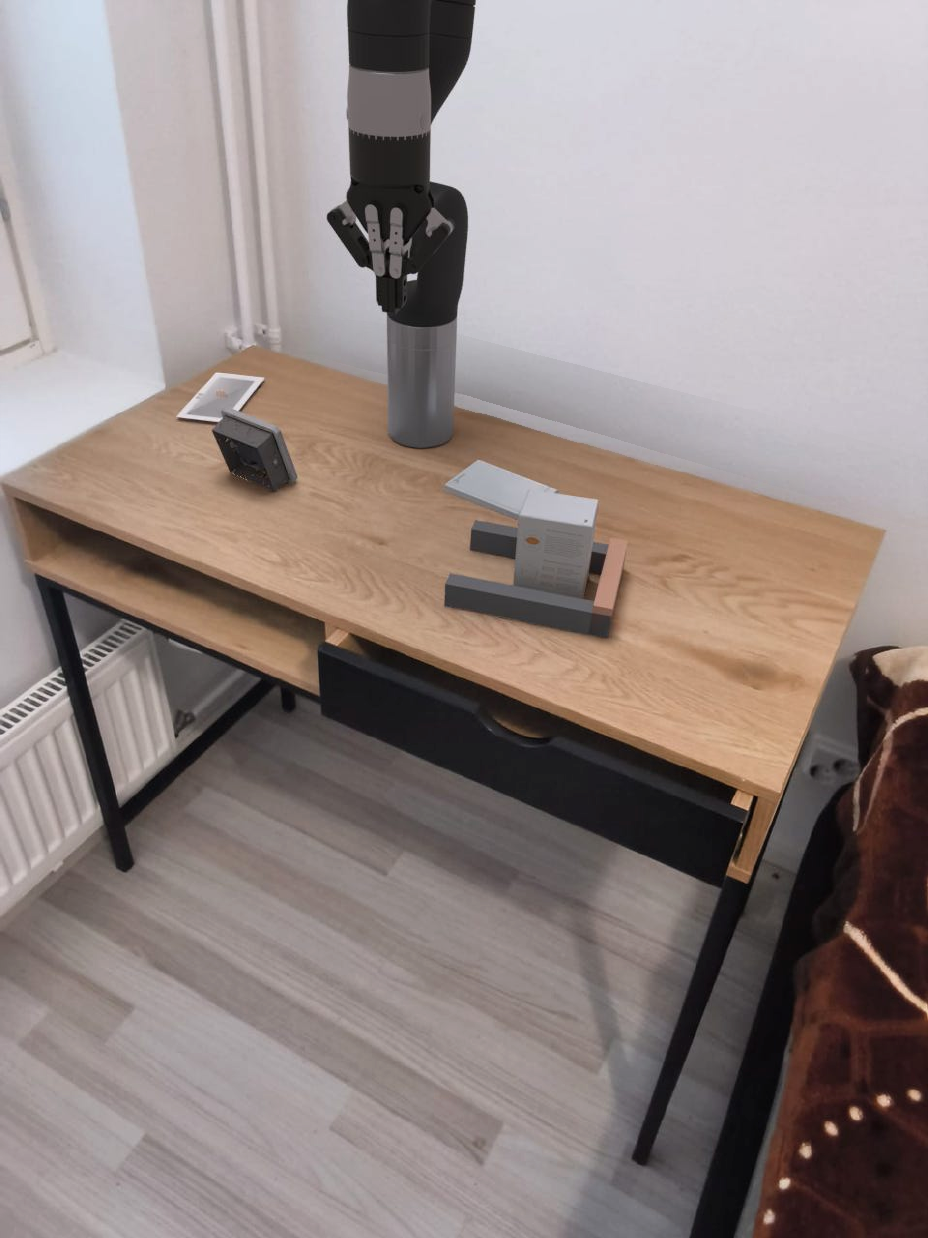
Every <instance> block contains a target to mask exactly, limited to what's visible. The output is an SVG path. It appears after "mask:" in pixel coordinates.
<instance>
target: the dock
mask: <svg viewBox="0 0 928 1238" xmlns="http://www.w3.org/2000/svg"><path fill="white" fill-rule="evenodd" d="M517 533H518V527H515V526H511V525H510V526H509V525H505V524H498V523H494V522H489V521H484V520H483V521H482V520H477V519H475V520H474V523H473V524H472V527H471V528H470V544H469V551H473V552H479V553H484V554H489V555H493V556H498V557H499V556H500V557H505V558H510V559H515V557H516V545H517ZM628 544H629V540H626V539H620V538H616V537H615V538H614V537H610V539H609V543H608V544H607V543H603V542H597V541H593V546H592V553H591V560H590V567H589V573H590V574H595V575H599V576H600V578H599V583H598V586H597V590H596V594H595V598H594V600H588V599H584V598H583V599H580V598H574V597H569V596H564V595H559V594H554V593H549V592H544V591H539V590H534V589H528V588H523V587H518V586H513V584H507V583H501V582H497V581H491V580H486V579H482V578H477V577H473V576H466V575H463V574H461V575H460V574H456V573H452V572H449V574H448V577H447V579H446V581H445V583H444V600H443V601H444V602H443V603H444V606H445V607H450V608H456V609H460V610H466V611H469V612H475V613H479V614H483V615H484V614H485V615H489V616H495V617H498V618H503V619H504V618H505V619H509V620H514V621H520V622H525V623H530V624H534V625H539V626H545V627H550V628H554V629H558V630H564V631H568V632H574V633H579V634H584V635H588V636H592V637H593V636H594V637H598V638H603V639H608V636H609V632H610V627H611V624H612V618H613V615H614V614H613V613H614V610H615V606H616V600H617V597H618V592H619V588H620V585H621V584H620V583H621V579H622V576H623V570H624V566H625V561H626V555H627V548H628Z"/></svg>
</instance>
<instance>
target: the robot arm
mask: <svg viewBox="0 0 928 1238" xmlns="http://www.w3.org/2000/svg"><path fill="white" fill-rule="evenodd" d="M476 4H477V0H347V6H346V14H347V15H346V21H347V22H346V24H347V45H348V49H347V50H348V78H347V79H348V81H347V91H346V93H347V94H346V100H347V101H346V102H347V106H346V111H345V112H346V114H345V115H346V119H347V125H348V126H347V131H348V133H347V134H348V156H349V157H348V158H349V177H350V184H349V187H348V189H347V190H346V191H347V192H346V196H345V198H346V200H345V201H343V203H341V204H338V205H337V206H335V207H333V208H332V209H331V210H330V211H329V212H328V213H327V215H326V220H327V223H329V225H330V227H331V228H332V229H333V231H334V233H335V234H336V235H337V237H338V239H340V242H341V243H342V244H343V246H344V247H345V248H346V250H347V252H349V254H350V256H351V257H352V259H353V261H355V263H356V264H357V266H358V267H360V268H361V269H362V268H363V269H364V268H367V269H370V270H371V271H372V272H373V273H374V275H375V294H376V295H375V299H376V300H375V301H376V304H377V306H379V307H381V312H382V313H386V348H387V349H386V351H387V355H386V356H387V361H386V362H387V365H386V366H387V428H388V429H387V431H388V436H389V437H390V439H392V440H393V441H394V442H396V443H398V444H400V445H403V446H407V447H409V448H418V449H419V448H420V449H421V448H422V449H423V448H433V447H438V446H440V445H443V444H445V443H447V442H448V441H450V440H451V439H452V437H453V434H454V420H455V419H454V414H455V393H456V392H455V391H456V390H455V389H456V369H457V367H456V364H457V337H458V336H457V335H458V334H457V332H458V330H457V329H458V307H459V302H460V299H461V296H462V291H463V286H464V280H465V279H464V277H465V266H466V265H465V264H466V253H467V244H468V234H469V233H468V230H469V215H468V208H467V207H468V206H467V202H466V200H465V196H464V195H463V194H462V192H461V191H460V190H459V189H457V188H455V187H453V186H450V185H446V184H443V183H439V182H434V181H431V140H432V139H431V136H432V135H431V134H432V131H431V130H432V129H431V128H432V124H433V122H434V120H435V119H436V116H437V115H438V113H439V111H440V109H441V108H442V107H443V105H444V103H446V101H447V98H448V97H449V96H450V94H451V92H452V91H453V90H454V88H455V86H456V85H457V83H458V81H459V79H460V77H461V76H462V74H463V72H464V70H465V68H466V66H467V63H468V61H469V58H470V53H471V49H472V41H473V32H474V31H473V30H474V23H475V14H476V13H475V12H476V7H475V6H476ZM357 220H358V222H359V223H360V225H361V227H362V229H363V230H364V231H365V232H366V233H367V235H368V236H367V237H368V239H367V237H366V236H365V234H364V233H363V232H362V230H361V229H360V227H359V226H358V224H357V223H356V222H357ZM416 274H417V275H416ZM408 275H416V279H412V280H408Z"/></svg>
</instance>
